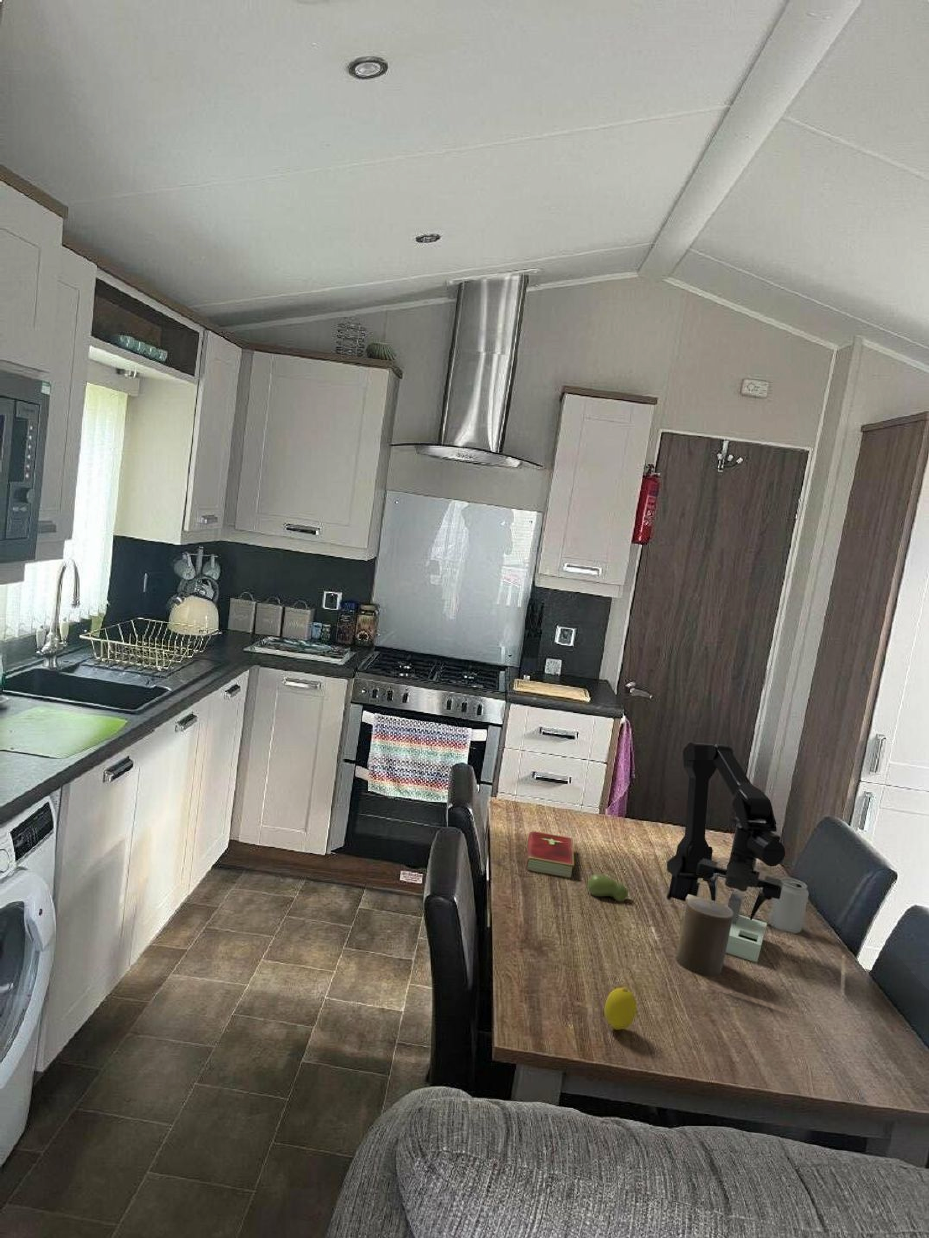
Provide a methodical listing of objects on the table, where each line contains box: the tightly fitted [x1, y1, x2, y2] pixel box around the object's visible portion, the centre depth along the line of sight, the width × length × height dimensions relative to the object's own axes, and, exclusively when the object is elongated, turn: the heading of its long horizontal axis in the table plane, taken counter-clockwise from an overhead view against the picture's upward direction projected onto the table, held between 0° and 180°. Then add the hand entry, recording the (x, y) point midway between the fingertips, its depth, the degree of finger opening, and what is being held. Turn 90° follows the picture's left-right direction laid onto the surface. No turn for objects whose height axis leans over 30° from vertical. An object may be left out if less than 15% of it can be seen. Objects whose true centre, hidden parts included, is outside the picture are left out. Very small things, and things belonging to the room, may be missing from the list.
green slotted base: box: [727, 891, 768, 950], centre depth 210 cm, size 10×14×6 cm
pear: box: [587, 873, 629, 903], centre depth 228 cm, size 6×5×10 cm
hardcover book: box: [525, 830, 575, 879], centre depth 247 cm, size 12×21×4 cm, turn 175°
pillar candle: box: [674, 896, 733, 977], centre depth 196 cm, size 10×10×15 cm
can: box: [768, 877, 810, 935], centre depth 225 cm, size 8×8×12 cm
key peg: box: [679, 894, 701, 933], centre depth 212 cm, size 3×3×9 cm
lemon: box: [604, 987, 637, 1031], centre depth 167 cm, size 6×6×8 cm
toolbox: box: [725, 934, 764, 963], centre depth 210 cm, size 10×14×4 cm
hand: (732, 913), depth 214 cm, fingers open, 8 cm apart
